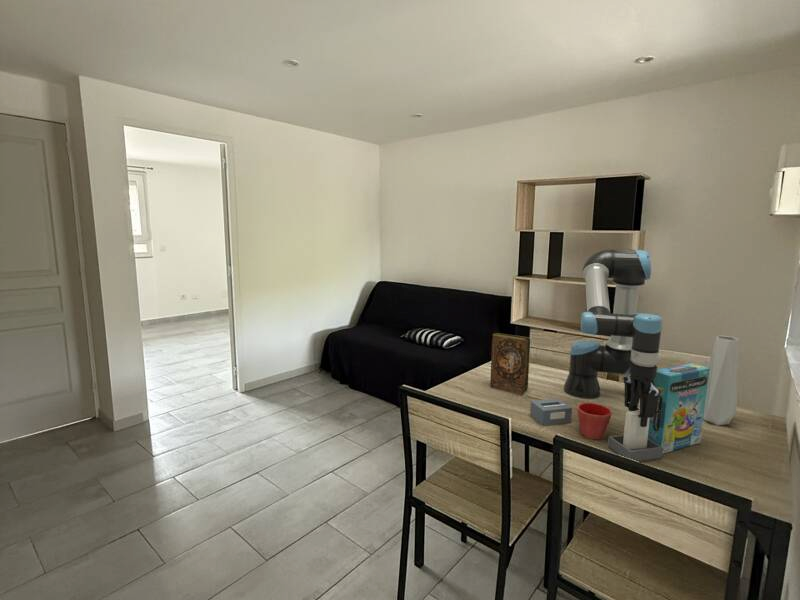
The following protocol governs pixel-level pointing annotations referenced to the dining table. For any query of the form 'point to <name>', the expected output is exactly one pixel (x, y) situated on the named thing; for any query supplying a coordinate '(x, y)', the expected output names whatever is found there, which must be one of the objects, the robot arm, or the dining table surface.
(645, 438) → the white rectangular block
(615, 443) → the bin
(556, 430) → the dining table surface
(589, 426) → the flower pot
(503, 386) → the book
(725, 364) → the vase
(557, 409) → the dispenser
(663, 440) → the game box
